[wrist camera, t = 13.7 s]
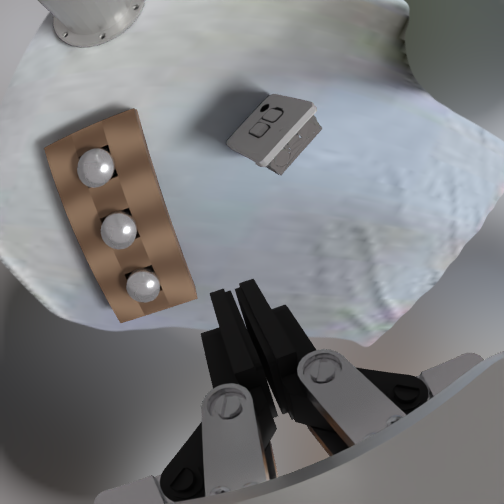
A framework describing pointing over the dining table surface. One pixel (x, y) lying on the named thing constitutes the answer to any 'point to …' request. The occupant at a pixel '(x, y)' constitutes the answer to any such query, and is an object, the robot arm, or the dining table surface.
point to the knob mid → (119, 229)
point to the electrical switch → (276, 132)
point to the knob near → (96, 167)
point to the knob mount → (116, 199)
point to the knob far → (143, 284)
